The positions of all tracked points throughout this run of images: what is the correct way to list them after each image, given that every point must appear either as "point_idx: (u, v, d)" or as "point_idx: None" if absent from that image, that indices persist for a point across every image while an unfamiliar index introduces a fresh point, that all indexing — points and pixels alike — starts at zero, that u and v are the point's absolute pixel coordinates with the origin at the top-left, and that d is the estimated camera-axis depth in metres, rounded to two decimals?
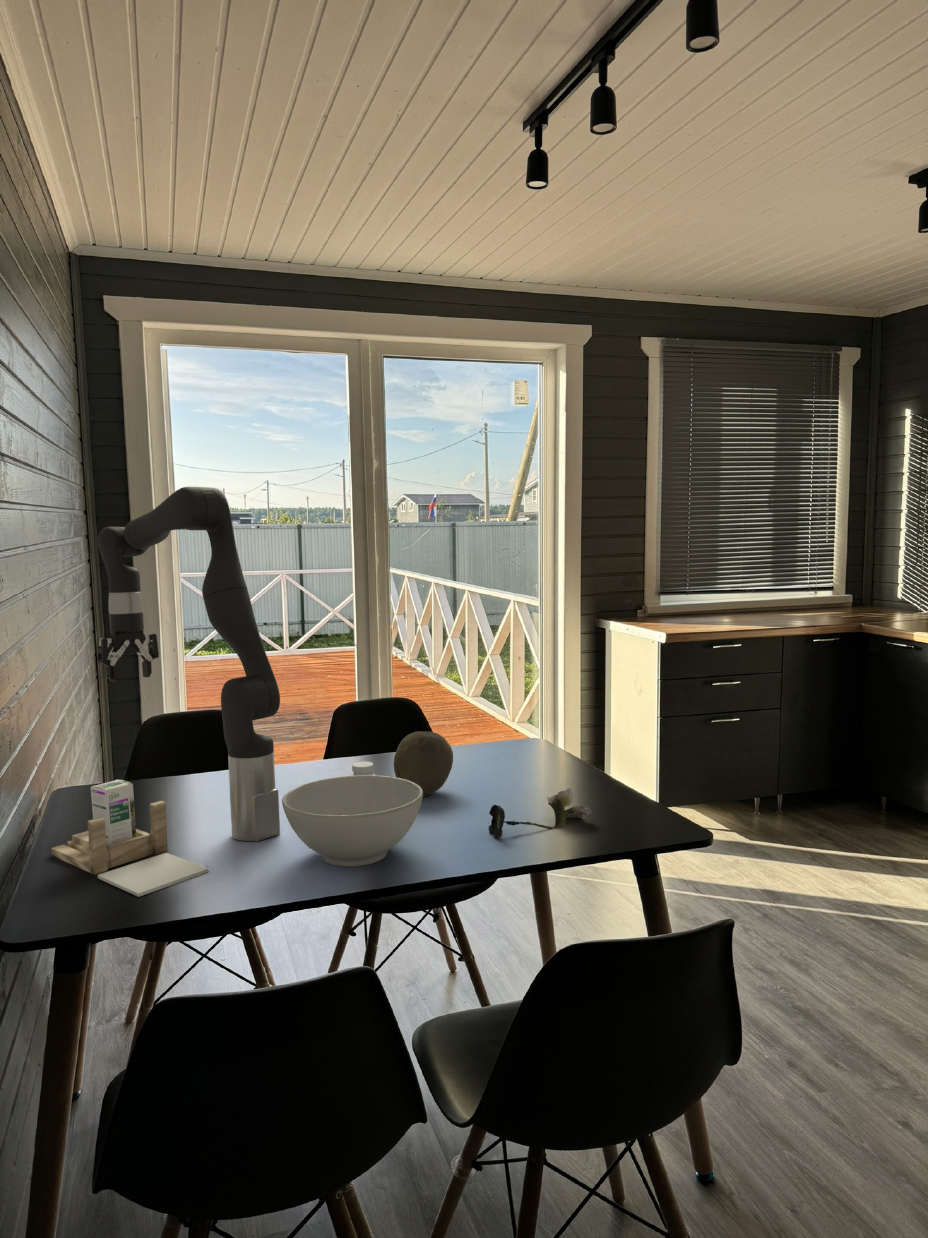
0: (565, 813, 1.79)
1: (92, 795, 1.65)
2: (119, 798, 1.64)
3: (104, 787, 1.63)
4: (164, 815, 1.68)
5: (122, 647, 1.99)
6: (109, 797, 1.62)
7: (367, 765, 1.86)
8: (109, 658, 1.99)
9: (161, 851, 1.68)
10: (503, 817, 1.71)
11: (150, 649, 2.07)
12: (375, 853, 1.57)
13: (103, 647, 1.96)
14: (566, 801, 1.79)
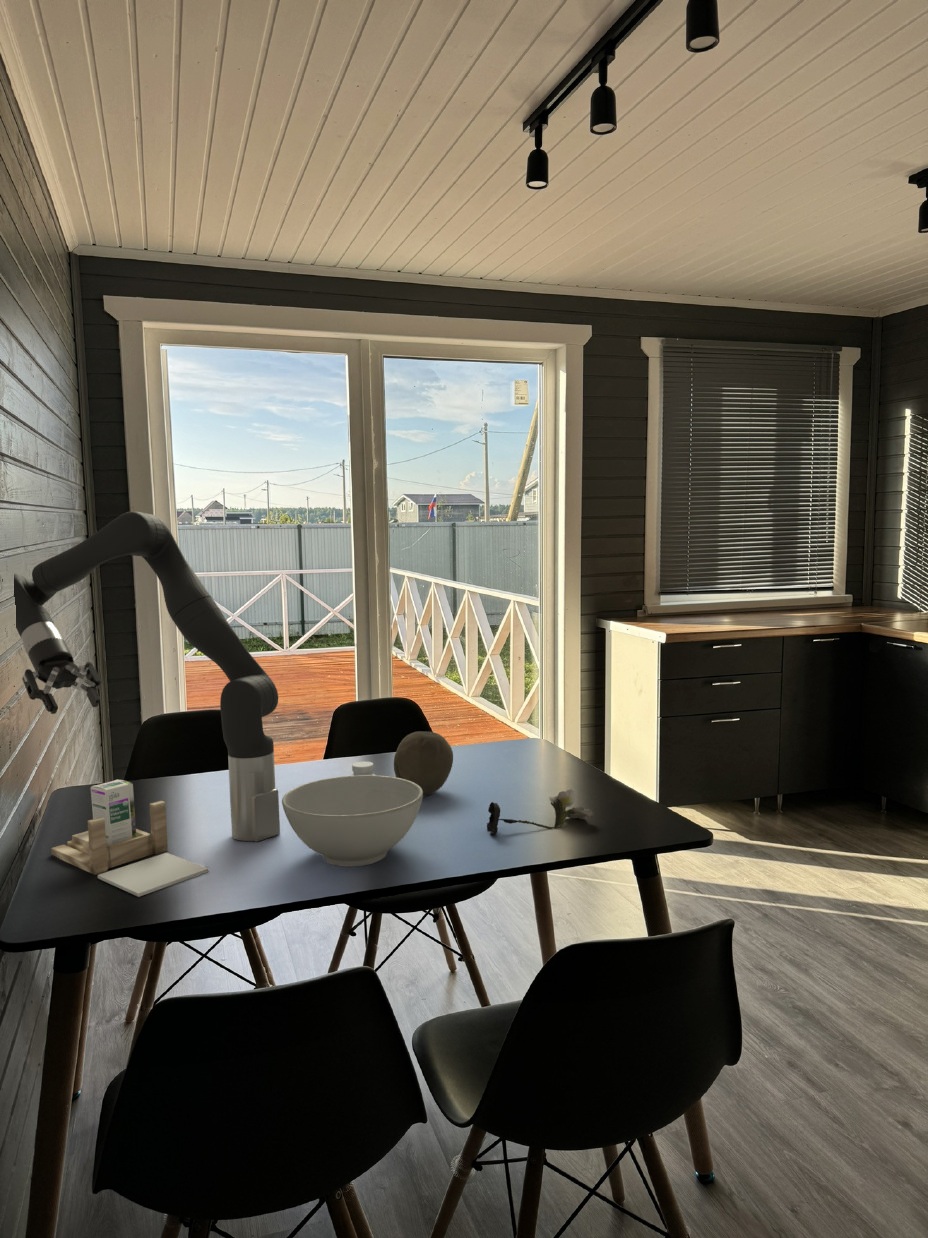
0: (565, 814, 1.78)
1: (92, 795, 1.65)
2: (119, 798, 1.64)
3: (104, 787, 1.63)
4: (164, 815, 1.68)
5: (52, 674, 1.73)
6: (109, 797, 1.62)
7: (367, 765, 1.86)
8: None
9: (161, 851, 1.68)
10: (498, 815, 1.72)
11: (91, 681, 1.80)
12: (375, 853, 1.57)
13: (29, 677, 1.70)
14: (567, 801, 1.78)
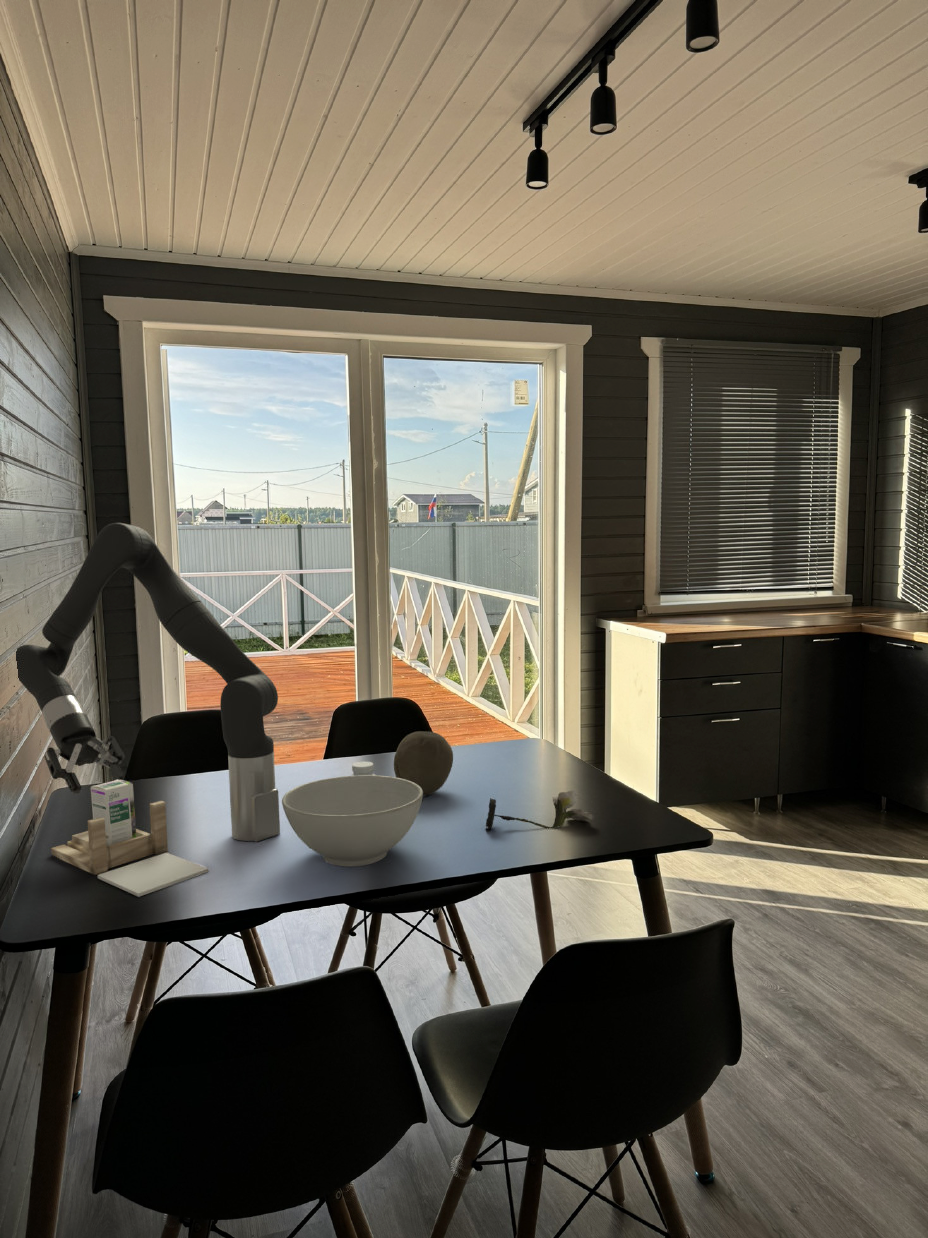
0: (565, 815, 1.78)
1: (92, 795, 1.65)
2: (119, 798, 1.64)
3: (104, 787, 1.63)
4: (164, 815, 1.68)
5: (74, 751, 1.69)
6: (109, 797, 1.62)
7: (367, 765, 1.86)
8: None
9: (161, 851, 1.68)
10: (492, 811, 1.75)
11: (114, 756, 1.76)
12: (375, 853, 1.57)
13: (51, 756, 1.66)
14: (567, 803, 1.78)
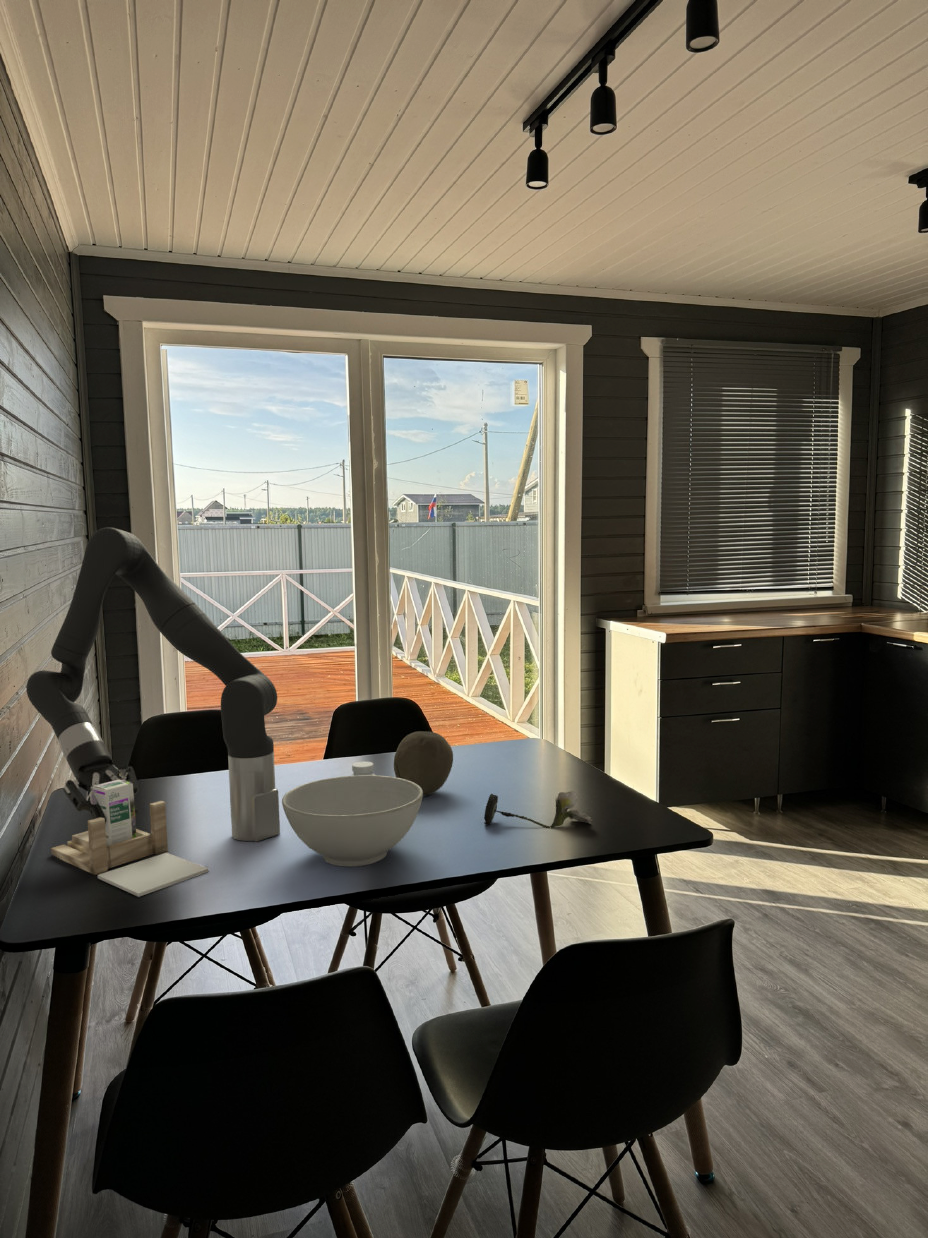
0: (564, 815, 1.77)
1: None
2: (119, 798, 1.64)
3: (104, 787, 1.63)
4: (164, 815, 1.68)
5: (94, 781, 1.66)
6: (109, 797, 1.62)
7: (367, 765, 1.86)
8: None
9: (161, 851, 1.68)
10: (490, 806, 1.78)
11: None
12: (375, 853, 1.57)
13: (72, 789, 1.63)
14: (566, 803, 1.77)
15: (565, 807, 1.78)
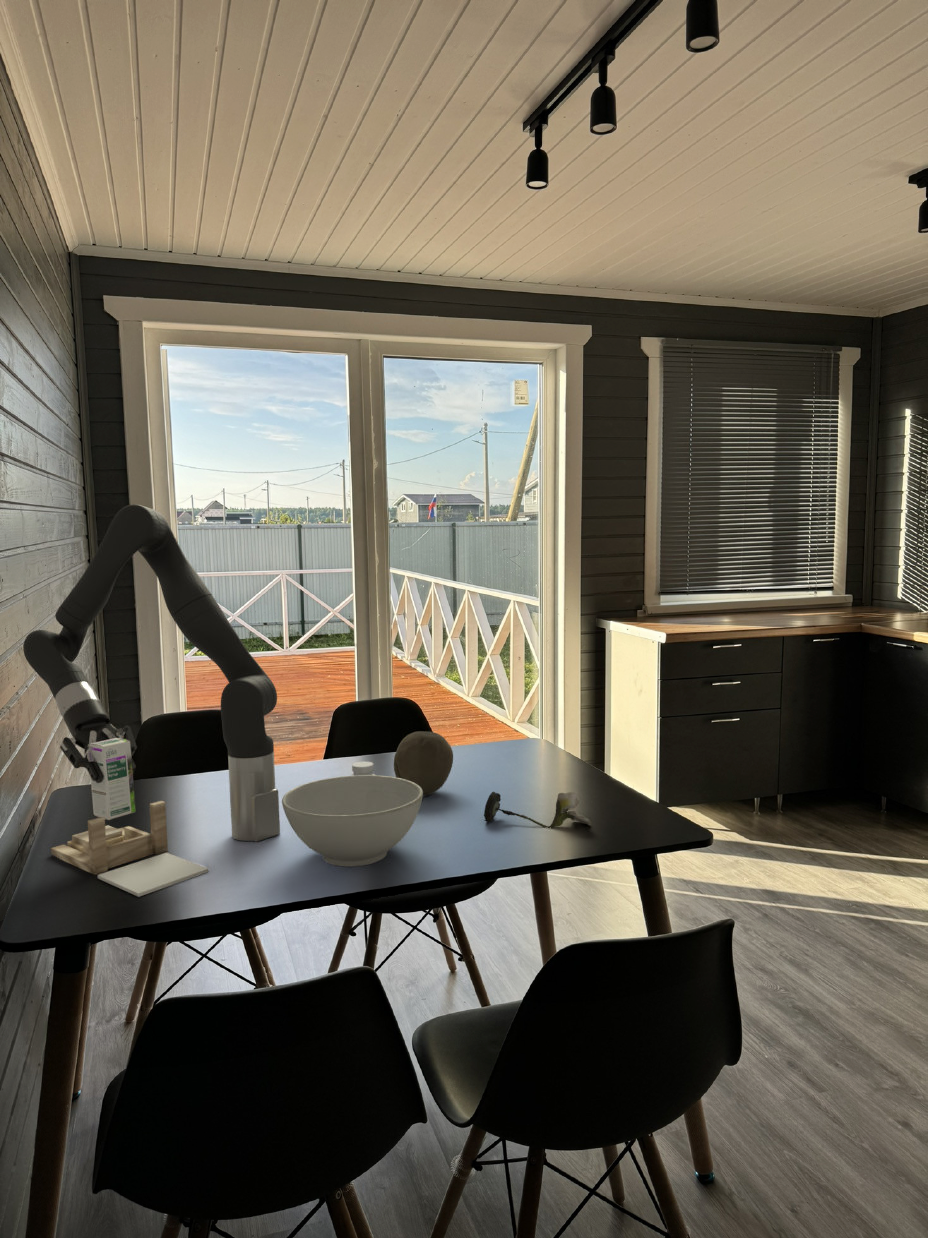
0: (563, 816, 1.77)
1: None
2: (117, 755, 1.63)
3: (101, 744, 1.62)
4: (164, 815, 1.68)
5: (91, 739, 1.65)
6: (107, 754, 1.62)
7: (367, 765, 1.86)
8: None
9: (161, 851, 1.68)
10: (490, 804, 1.80)
11: None
12: (375, 853, 1.57)
13: (69, 746, 1.62)
14: (565, 804, 1.77)
15: (564, 808, 1.77)
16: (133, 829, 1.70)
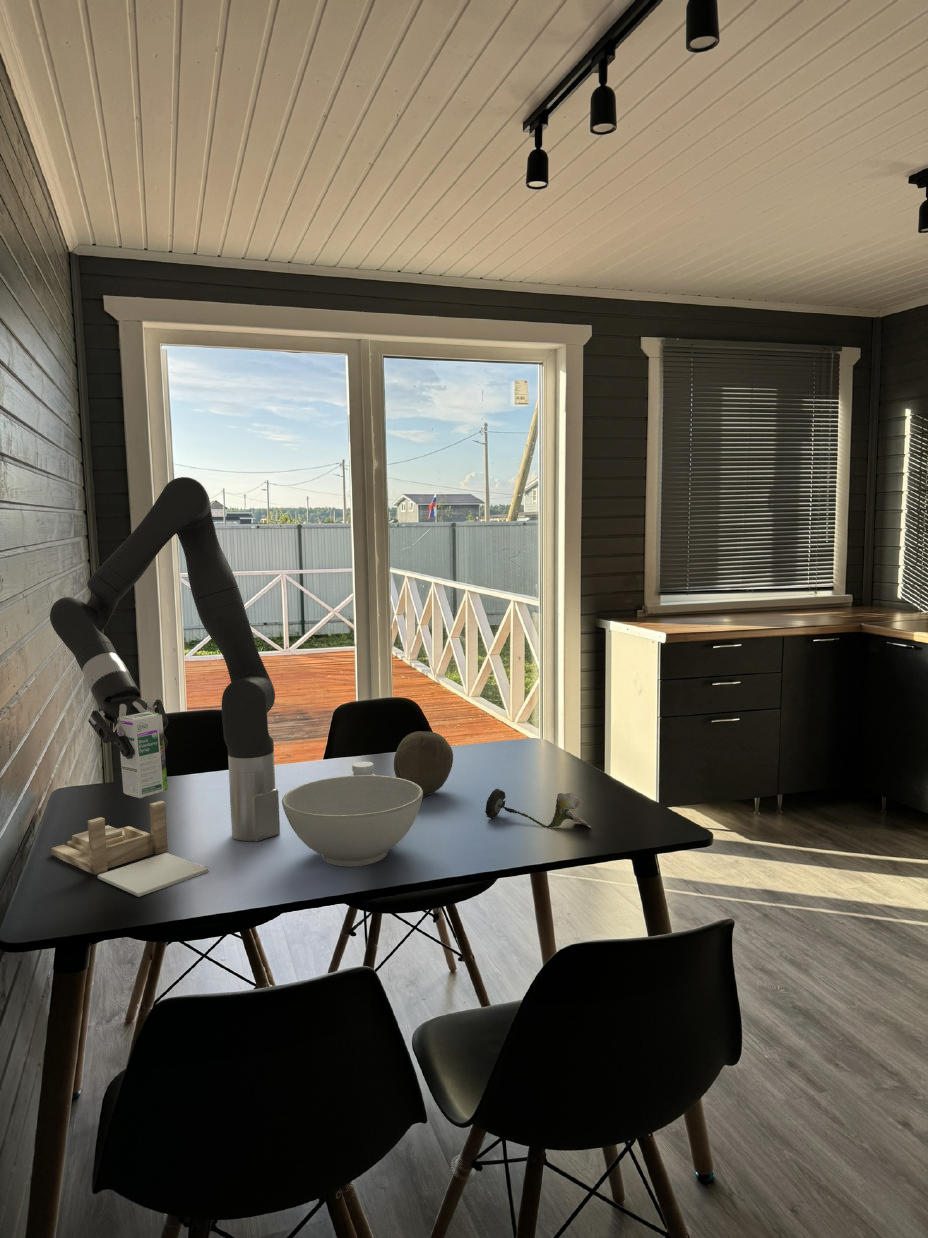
0: (561, 816, 1.76)
1: None
2: (148, 729, 1.53)
3: (132, 717, 1.53)
4: (164, 815, 1.68)
5: (120, 712, 1.55)
6: (138, 728, 1.52)
7: (367, 765, 1.86)
8: None
9: (161, 851, 1.68)
10: (491, 800, 1.82)
11: None
12: (375, 853, 1.57)
13: (98, 719, 1.52)
14: (564, 804, 1.76)
15: (563, 808, 1.77)
16: (133, 829, 1.70)
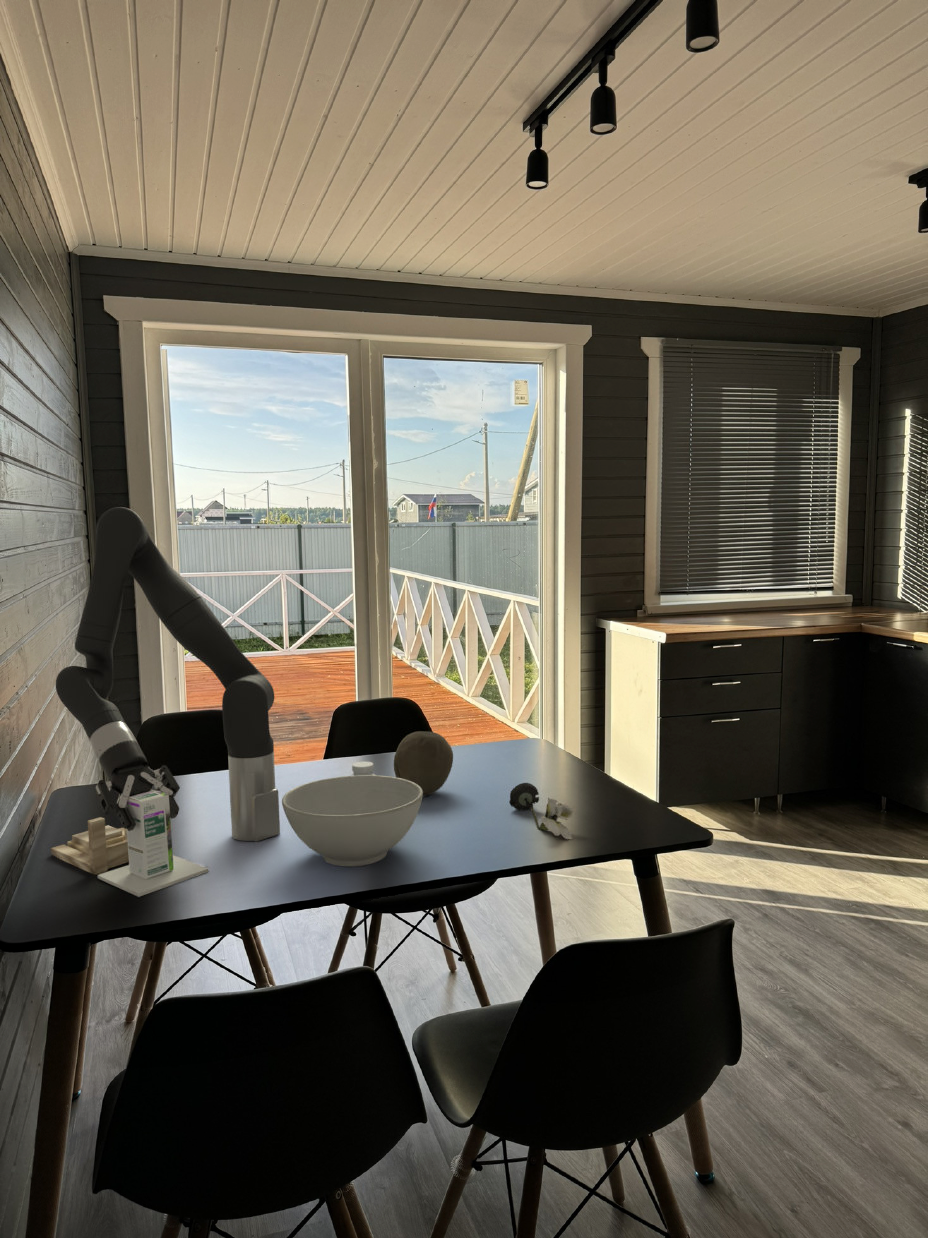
0: None
1: (126, 807, 1.55)
2: (155, 810, 1.53)
3: (139, 799, 1.53)
4: None
5: (127, 784, 1.55)
6: (144, 809, 1.52)
7: (367, 765, 1.86)
8: None
9: None
10: (513, 792, 1.88)
11: (167, 787, 1.62)
12: (375, 853, 1.57)
13: (102, 790, 1.52)
14: (548, 809, 1.74)
15: (549, 814, 1.74)
16: None
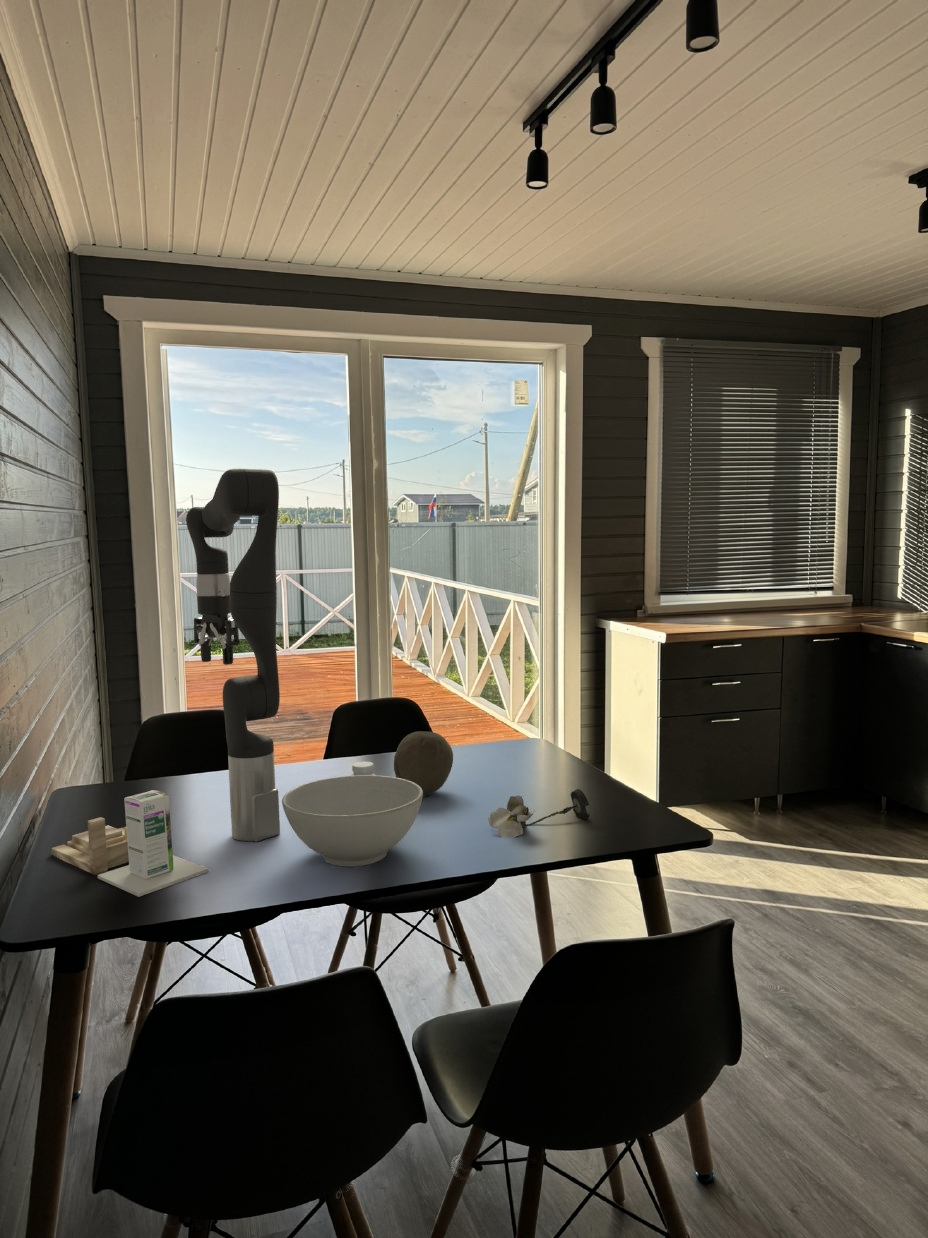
0: None
1: (126, 807, 1.55)
2: (155, 810, 1.53)
3: (138, 799, 1.53)
4: None
5: (203, 628, 1.98)
6: (144, 809, 1.52)
7: (367, 765, 1.86)
8: (207, 638, 2.01)
9: None
10: None
11: (234, 636, 1.94)
12: (375, 853, 1.57)
13: (194, 626, 2.01)
14: None
15: None
16: None
